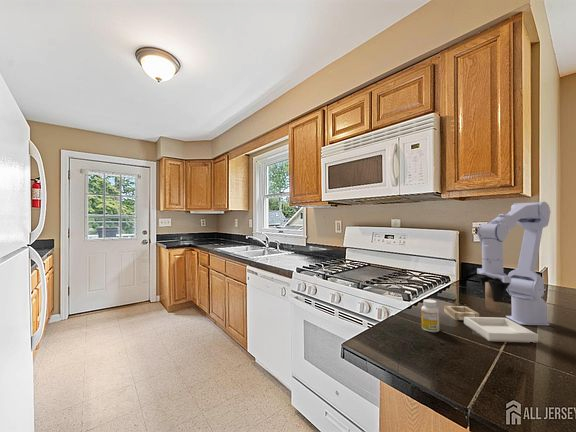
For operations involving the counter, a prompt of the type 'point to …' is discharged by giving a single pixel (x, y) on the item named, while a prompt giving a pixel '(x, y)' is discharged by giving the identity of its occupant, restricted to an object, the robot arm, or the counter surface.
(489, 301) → the wooden dowel
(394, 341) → the counter surface
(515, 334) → the tray
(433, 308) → the supplement bottle
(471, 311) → the collar
